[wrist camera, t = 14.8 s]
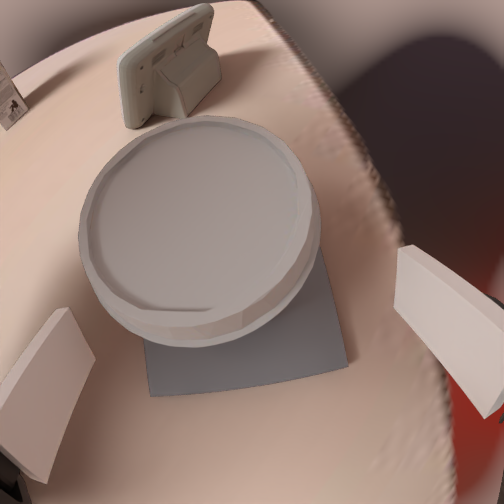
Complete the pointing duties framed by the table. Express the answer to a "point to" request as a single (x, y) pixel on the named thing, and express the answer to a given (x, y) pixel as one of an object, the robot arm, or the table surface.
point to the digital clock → (169, 69)
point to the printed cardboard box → (10, 101)
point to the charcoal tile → (258, 348)
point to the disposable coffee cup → (199, 231)
